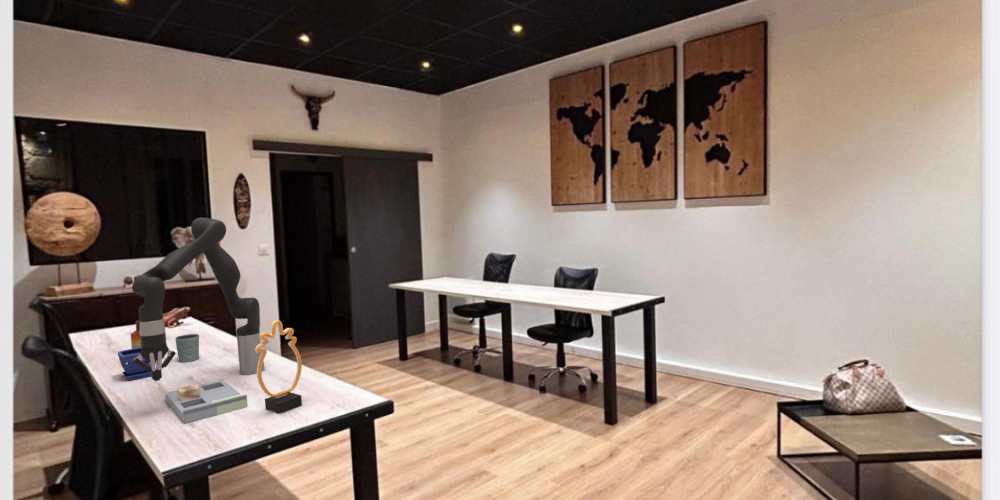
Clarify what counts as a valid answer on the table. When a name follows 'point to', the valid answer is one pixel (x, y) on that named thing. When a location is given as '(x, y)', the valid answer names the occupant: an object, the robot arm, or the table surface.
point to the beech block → (188, 392)
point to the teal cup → (187, 347)
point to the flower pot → (133, 364)
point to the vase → (136, 336)
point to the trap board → (207, 402)
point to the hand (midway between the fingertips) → (157, 380)
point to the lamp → (285, 398)
